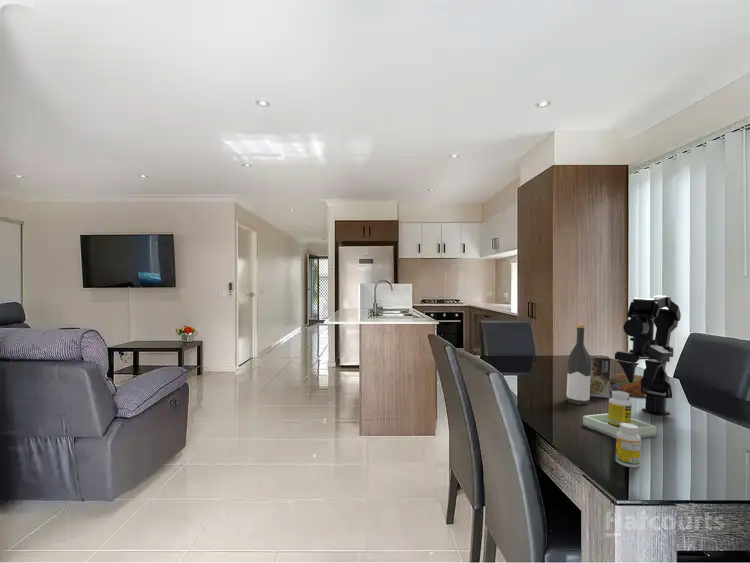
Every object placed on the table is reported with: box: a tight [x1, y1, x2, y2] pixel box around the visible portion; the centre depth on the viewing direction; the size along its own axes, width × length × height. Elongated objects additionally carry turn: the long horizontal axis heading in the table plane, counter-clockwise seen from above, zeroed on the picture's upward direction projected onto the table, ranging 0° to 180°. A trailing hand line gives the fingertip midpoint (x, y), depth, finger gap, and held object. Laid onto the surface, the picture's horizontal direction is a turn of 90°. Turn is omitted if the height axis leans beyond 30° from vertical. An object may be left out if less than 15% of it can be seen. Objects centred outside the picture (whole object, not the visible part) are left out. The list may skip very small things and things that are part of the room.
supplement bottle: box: [615, 423, 642, 468], centre depth 108 cm, size 5×5×10 cm
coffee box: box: [589, 354, 611, 399], centre depth 177 cm, size 9×6×16 cm
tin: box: [610, 373, 646, 397], centre depth 181 cm, size 15×3×8 cm, turn 68°
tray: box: [582, 413, 657, 439], centre depth 133 cm, size 14×14×3 cm
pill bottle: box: [607, 390, 632, 428], centre depth 133 cm, size 6×6×11 cm
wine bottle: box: [566, 323, 591, 405], centre depth 165 cm, size 8×8×30 cm
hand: (641, 382), depth 144 cm, fingers open, 9 cm apart
